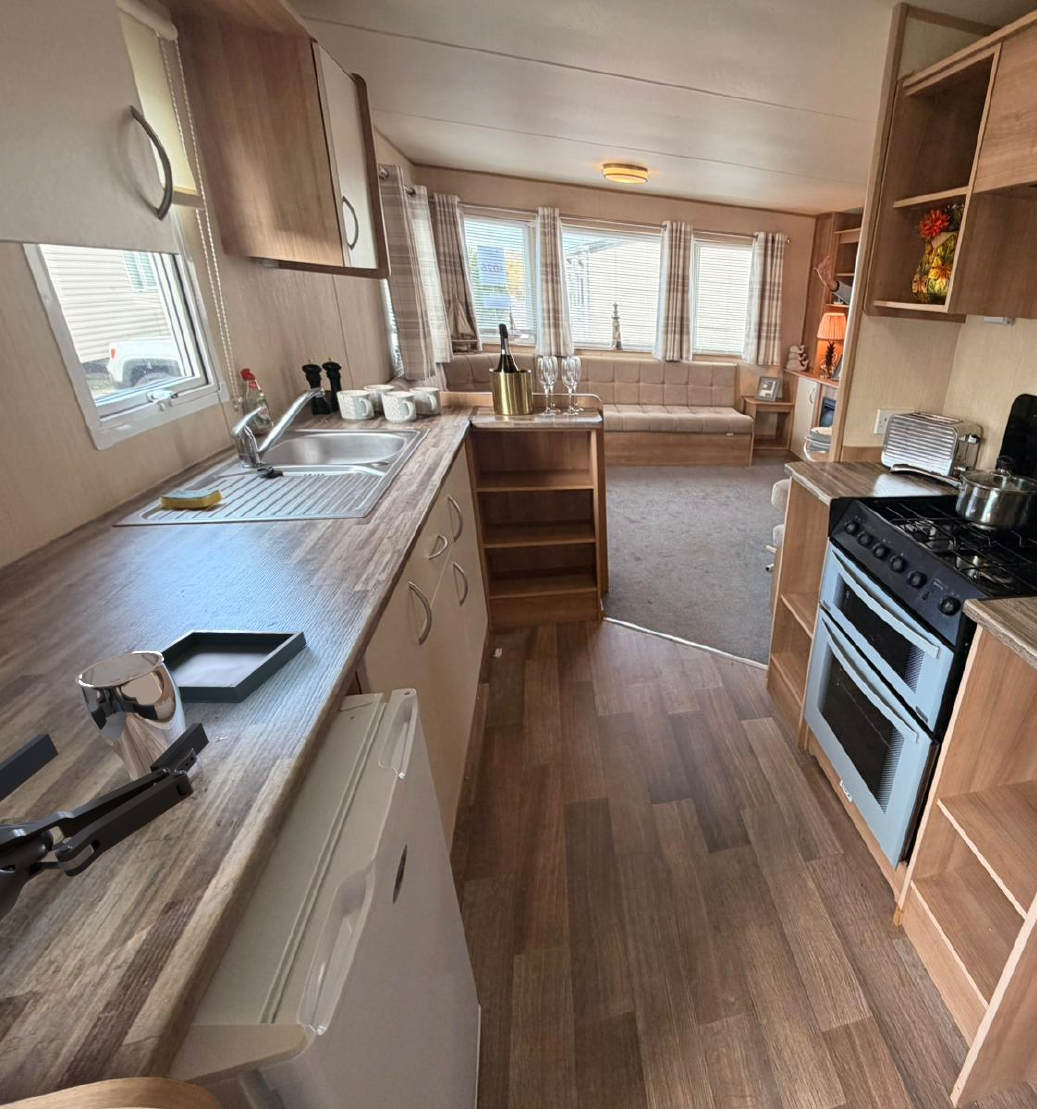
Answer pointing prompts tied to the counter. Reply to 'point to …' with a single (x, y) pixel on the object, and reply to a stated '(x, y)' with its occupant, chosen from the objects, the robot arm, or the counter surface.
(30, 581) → the counter surface
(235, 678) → the tray
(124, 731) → the shiny silver metal cup
